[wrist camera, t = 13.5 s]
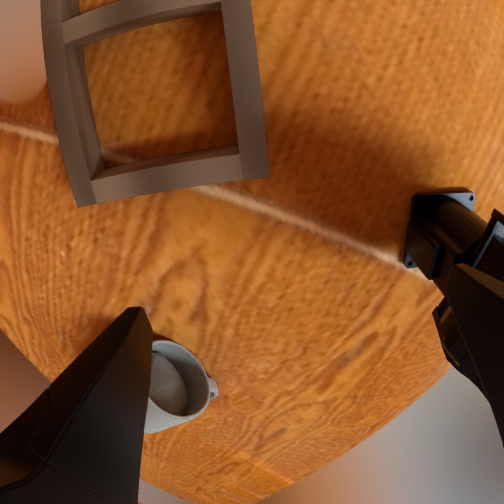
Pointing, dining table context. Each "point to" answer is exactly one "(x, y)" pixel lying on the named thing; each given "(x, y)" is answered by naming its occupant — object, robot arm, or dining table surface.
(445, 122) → the dining table surface
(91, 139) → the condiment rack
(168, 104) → the dining table surface
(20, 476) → the robot arm
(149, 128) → the dining table surface
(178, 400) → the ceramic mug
